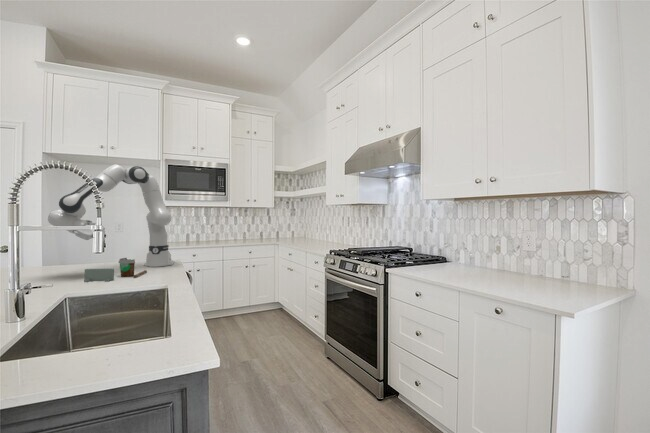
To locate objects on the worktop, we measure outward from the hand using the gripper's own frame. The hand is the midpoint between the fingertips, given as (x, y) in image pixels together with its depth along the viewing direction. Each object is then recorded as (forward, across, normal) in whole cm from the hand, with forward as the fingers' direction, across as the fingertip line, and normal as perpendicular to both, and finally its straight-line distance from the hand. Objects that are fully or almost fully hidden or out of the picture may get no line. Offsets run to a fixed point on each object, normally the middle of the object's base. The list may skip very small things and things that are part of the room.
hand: (105, 237), depth 190 cm
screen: (+12, -21, +16) cm, 29 cm away
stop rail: (+28, -8, +11) cm, 31 cm away
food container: (+20, -8, +15) cm, 26 cm away
